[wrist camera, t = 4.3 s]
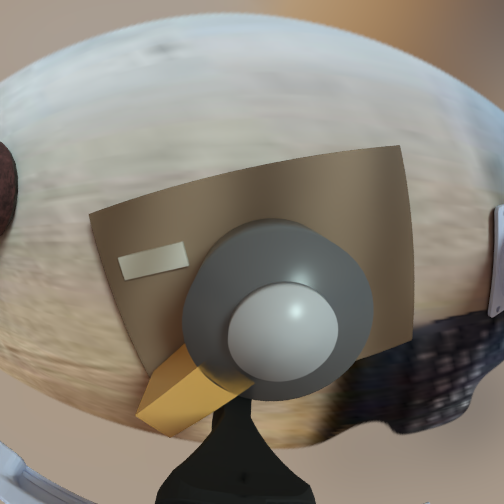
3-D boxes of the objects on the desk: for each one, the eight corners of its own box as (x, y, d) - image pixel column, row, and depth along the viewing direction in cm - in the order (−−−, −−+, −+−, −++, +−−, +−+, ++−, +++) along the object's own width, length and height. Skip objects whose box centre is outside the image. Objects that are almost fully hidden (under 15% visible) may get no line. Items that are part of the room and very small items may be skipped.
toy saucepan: (273, 185, 10) (291, 184, 6) (366, 289, 11) (409, 327, 8) (120, 343, 11) (88, 391, 8) (212, 412, 13) (207, 466, 9)
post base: (389, 147, 11) (402, 144, 10) (403, 331, 13) (413, 341, 12) (99, 211, 11) (86, 214, 10) (163, 385, 14) (159, 399, 12)
